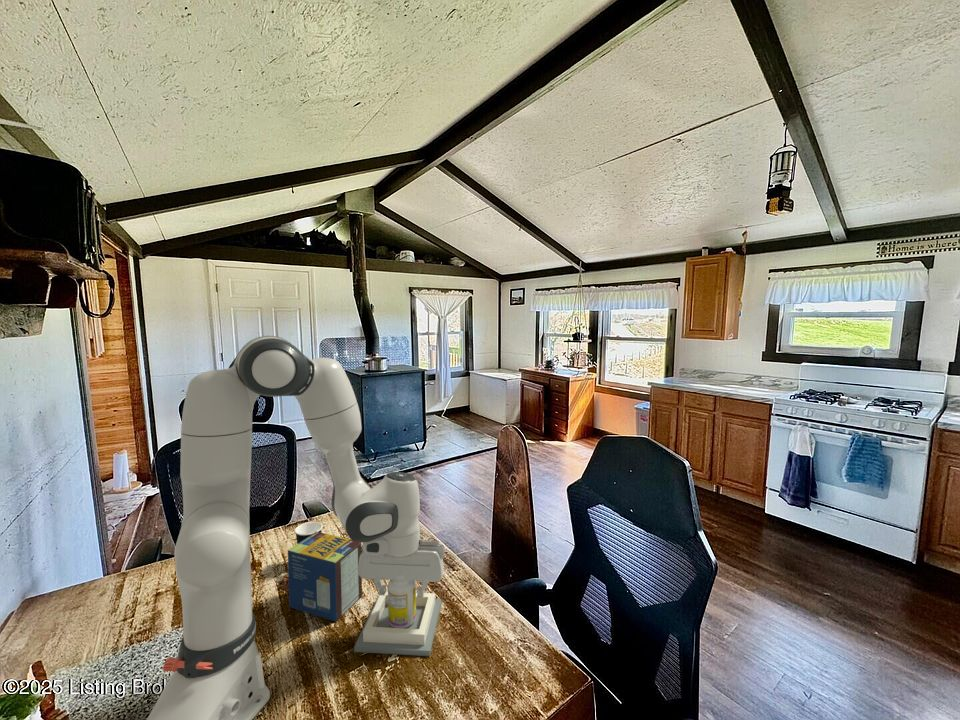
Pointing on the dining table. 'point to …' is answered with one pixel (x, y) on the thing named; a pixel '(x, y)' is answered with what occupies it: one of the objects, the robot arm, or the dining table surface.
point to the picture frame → (400, 629)
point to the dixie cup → (307, 530)
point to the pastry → (284, 581)
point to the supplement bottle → (401, 602)
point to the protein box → (324, 575)
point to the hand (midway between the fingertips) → (401, 594)
